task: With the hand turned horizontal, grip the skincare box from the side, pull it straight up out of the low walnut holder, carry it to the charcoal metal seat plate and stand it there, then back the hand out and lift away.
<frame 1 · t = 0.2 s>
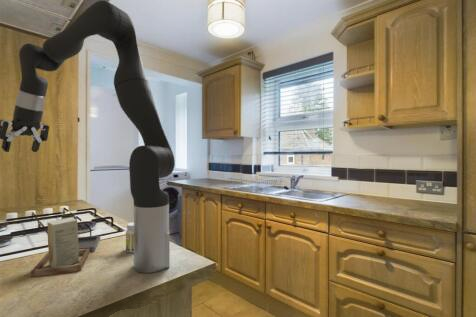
hand: (20, 151, 91), 30 cm above the counter, tool tilted 20°, fingers open, 8 cm apart
walnut holder: (63, 263, 73), on the counter
charcoal seat plate: (78, 246, 85), on the counter
skincare box: (63, 264, 73), resting in walnut holder
supplement bottle: (134, 250, 83), on the counter
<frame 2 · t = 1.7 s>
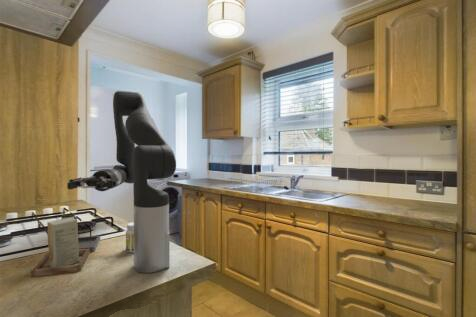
hand: (83, 186, 82), 20 cm above the counter, tool horizontal, fingers open, 8 cm apart
nothing on the counter moved.
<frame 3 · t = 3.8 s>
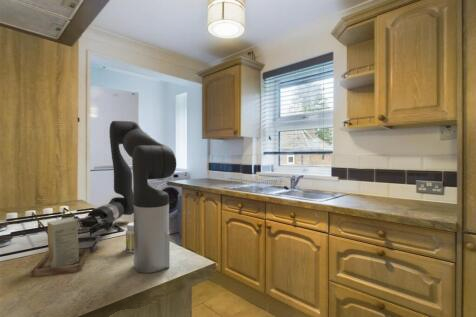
hand: (77, 230, 79), 7 cm above the counter, tool horizontal, fingers open, 8 cm apart
nothing on the counter moved.
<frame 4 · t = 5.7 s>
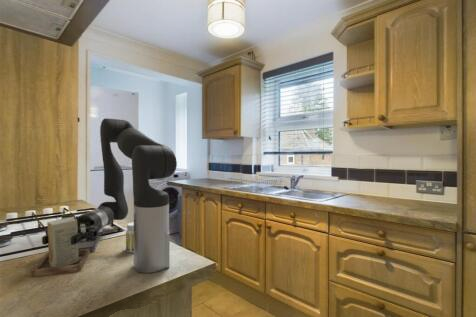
hand: (58, 241, 70), 7 cm above the counter, tool horizontal, fingers closed on skincare box, 7 cm apart
skincare box: (63, 264, 73), resting in walnut holder, touching gripper
everything else where it was.
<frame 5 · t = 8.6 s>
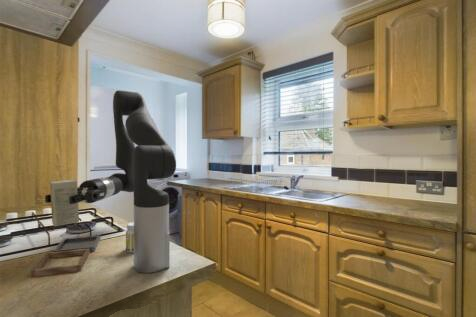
hand: (58, 199, 73), 18 cm above the counter, tool horizontal, fingers closed on skincare box, 7 cm apart
skincare box: (65, 223, 76), point 10 cm above the counter, touching gripper
everything else where it was.
when the fingers open (9 cm above the counter, at t = 11.5 s): skincare box stays where it is, resting on charcoal seat plate.
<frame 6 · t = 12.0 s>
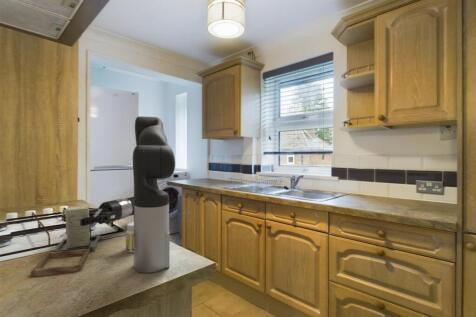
hand: (72, 220, 83), 9 cm above the counter, tool horizontal, fingers open, 8 cm apart
skincare box: (78, 245, 85), resting on charcoal seat plate
everything else where it was.
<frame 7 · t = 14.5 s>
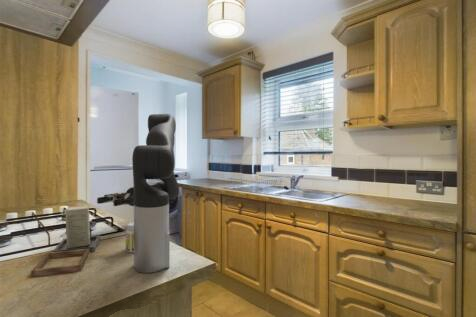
hand: (105, 202, 93), 13 cm above the counter, tool horizontal, fingers open, 8 cm apart
nothing on the counter moved.
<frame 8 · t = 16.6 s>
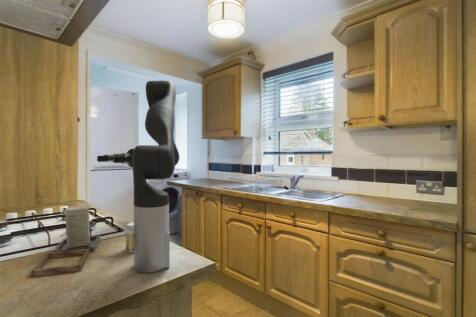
hand: (105, 159, 93), 28 cm above the counter, tool horizontal, fingers open, 8 cm apart
nothing on the counter moved.
at the end: skincare box 0.2 cm off-centre on the charcoal seat plate, point 0.4 cm above the charcoal seat plate's base; skincare box tilted 0°; the gripper is holding nothing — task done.
